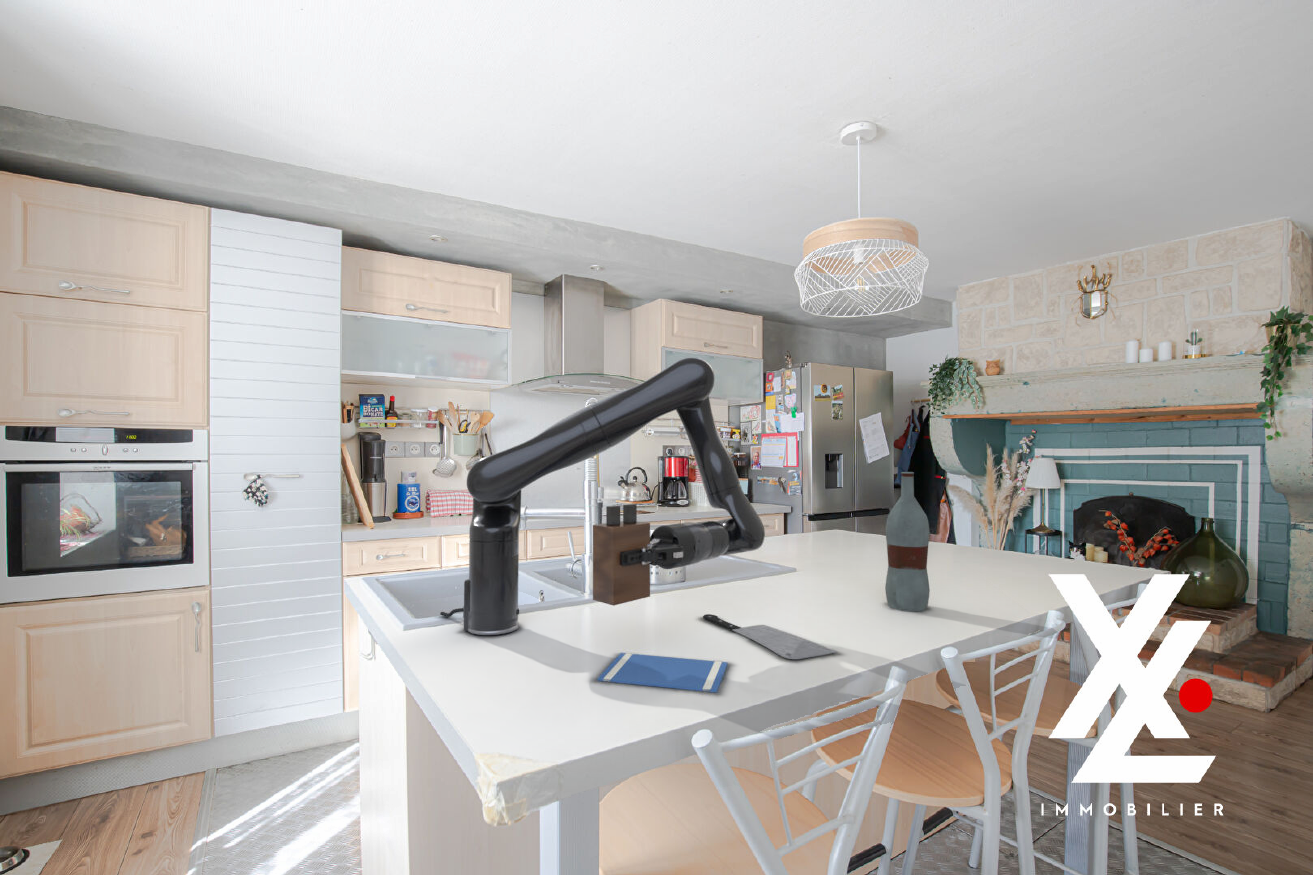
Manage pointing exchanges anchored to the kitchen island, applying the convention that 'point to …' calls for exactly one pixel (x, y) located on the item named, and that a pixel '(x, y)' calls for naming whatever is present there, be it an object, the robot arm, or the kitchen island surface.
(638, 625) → the kitchen island surface
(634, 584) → the knife block
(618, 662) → the towel
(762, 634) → the cleaver
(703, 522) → the robot arm
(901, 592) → the bottle
